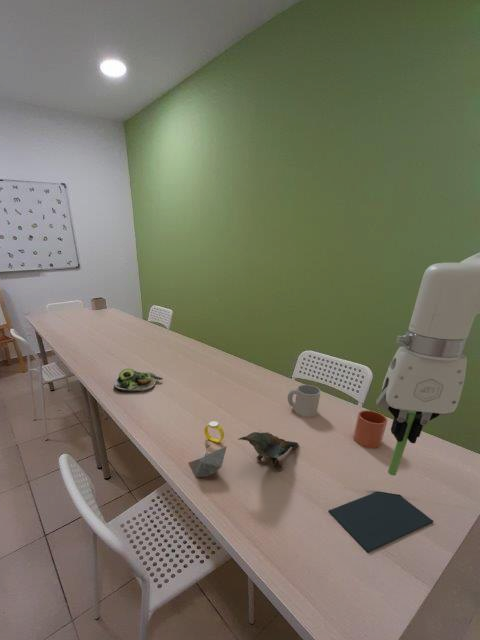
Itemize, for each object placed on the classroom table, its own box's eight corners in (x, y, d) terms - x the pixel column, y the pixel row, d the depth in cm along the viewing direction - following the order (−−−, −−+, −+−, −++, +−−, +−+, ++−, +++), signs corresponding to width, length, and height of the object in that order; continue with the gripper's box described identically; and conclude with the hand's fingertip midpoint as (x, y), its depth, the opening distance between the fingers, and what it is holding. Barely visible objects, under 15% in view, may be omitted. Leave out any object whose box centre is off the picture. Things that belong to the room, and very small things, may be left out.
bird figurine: (282, 433, 90) (262, 394, 77) (310, 452, 82) (293, 411, 70) (253, 467, 87) (227, 431, 74) (279, 489, 79) (256, 453, 67)
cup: (314, 421, 97) (318, 396, 93) (283, 413, 102) (286, 389, 98) (318, 410, 102) (322, 387, 99) (289, 403, 107) (291, 381, 104)
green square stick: (394, 471, 59) (414, 410, 54) (397, 476, 58) (417, 414, 53) (386, 470, 60) (405, 409, 54) (389, 474, 58) (408, 413, 53)
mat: (388, 488, 71) (389, 486, 71) (432, 522, 62) (433, 520, 62) (328, 511, 65) (328, 510, 65) (367, 552, 56) (368, 551, 56)
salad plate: (165, 374, 133) (165, 364, 131) (159, 393, 117) (158, 382, 115) (123, 374, 134) (121, 364, 133) (110, 393, 118) (109, 382, 116)
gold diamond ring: (225, 441, 88) (225, 424, 86) (220, 446, 86) (221, 429, 84) (207, 435, 91) (207, 418, 89) (203, 439, 89) (202, 422, 87)
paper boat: (181, 478, 74) (180, 447, 81) (195, 489, 77) (194, 458, 84) (223, 461, 70) (219, 429, 77) (236, 473, 73) (231, 442, 80)
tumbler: (376, 436, 89) (382, 411, 85) (383, 451, 83) (391, 425, 79) (350, 433, 90) (355, 409, 87) (355, 447, 84) (361, 422, 81)
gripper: (386, 348, 47) (361, 444, 54) (507, 355, 43) (463, 457, 50) (372, 334, 53) (352, 421, 61) (476, 339, 50) (442, 432, 57)
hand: (403, 437), depth 56 cm, fingers closed on green square stick, 1 cm apart
